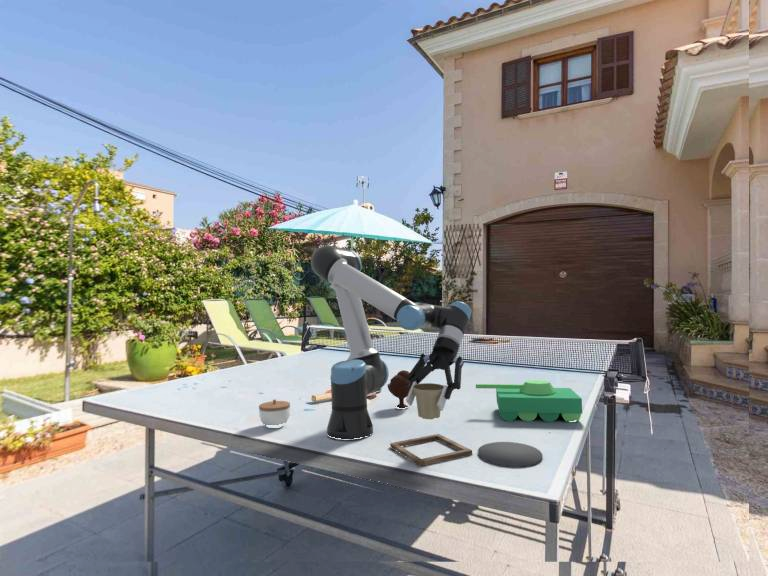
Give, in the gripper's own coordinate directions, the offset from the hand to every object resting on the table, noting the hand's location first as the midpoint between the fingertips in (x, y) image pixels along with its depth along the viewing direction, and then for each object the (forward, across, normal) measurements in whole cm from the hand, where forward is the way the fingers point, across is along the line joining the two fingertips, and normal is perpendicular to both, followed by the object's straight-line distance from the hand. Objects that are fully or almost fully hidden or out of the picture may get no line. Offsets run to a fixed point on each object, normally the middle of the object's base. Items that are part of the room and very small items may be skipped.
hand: (423, 405), depth 121 cm
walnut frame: (+7, 0, -12) cm, 14 cm away
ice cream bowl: (-18, +33, -39) cm, 54 cm away
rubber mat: (+2, -21, -17) cm, 27 cm away
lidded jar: (+12, +59, -10) cm, 61 cm away
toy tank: (-28, -13, -47) cm, 56 cm away
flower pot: (+1, 0, -5) cm, 5 cm away
